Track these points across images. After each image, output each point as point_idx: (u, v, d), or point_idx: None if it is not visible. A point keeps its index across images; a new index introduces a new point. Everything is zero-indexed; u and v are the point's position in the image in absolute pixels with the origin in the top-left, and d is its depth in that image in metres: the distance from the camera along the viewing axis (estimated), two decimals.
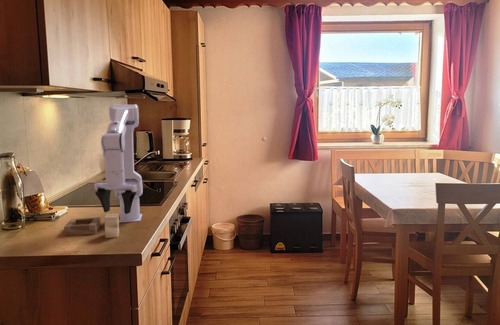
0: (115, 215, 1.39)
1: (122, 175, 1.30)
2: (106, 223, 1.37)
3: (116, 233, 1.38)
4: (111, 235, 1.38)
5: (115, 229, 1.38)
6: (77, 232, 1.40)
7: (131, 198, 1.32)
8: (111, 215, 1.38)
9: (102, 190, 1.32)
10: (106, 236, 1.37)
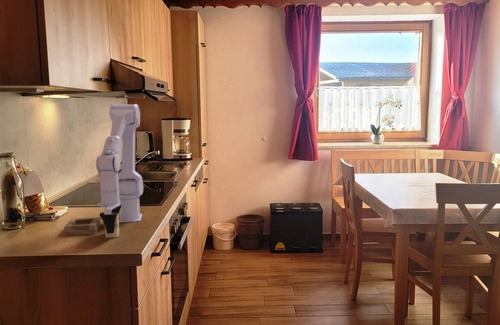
0: None
1: (108, 196, 1.35)
2: None
3: (116, 233, 1.38)
4: (111, 235, 1.38)
5: (115, 229, 1.38)
6: (77, 232, 1.40)
7: (112, 220, 1.34)
8: None
9: None
10: (106, 236, 1.37)
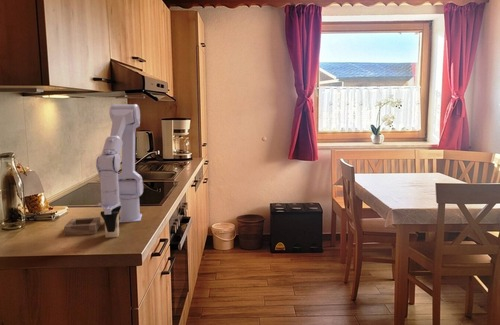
0: None
1: (108, 196, 1.35)
2: None
3: (116, 233, 1.38)
4: (111, 235, 1.38)
5: (115, 229, 1.38)
6: (77, 232, 1.40)
7: (113, 218, 1.36)
8: None
9: None
10: (106, 236, 1.37)
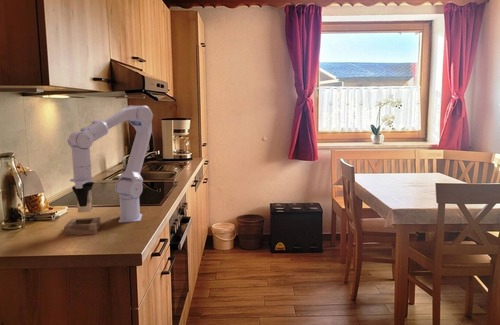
0: None
1: (80, 171, 1.39)
2: None
3: (88, 208, 1.42)
4: (83, 210, 1.42)
5: (88, 204, 1.42)
6: (77, 232, 1.40)
7: (85, 193, 1.40)
8: None
9: None
10: (78, 211, 1.42)
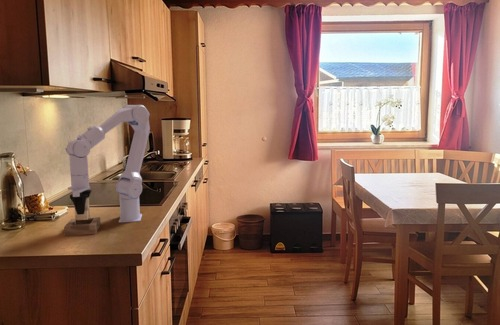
0: None
1: (77, 179, 1.40)
2: None
3: (86, 216, 1.43)
4: (81, 218, 1.43)
5: (85, 212, 1.43)
6: (77, 232, 1.40)
7: (82, 201, 1.41)
8: None
9: None
10: (76, 219, 1.43)
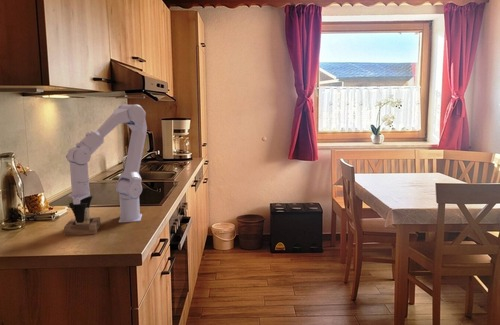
0: (86, 209, 1.44)
1: (78, 186, 1.40)
2: None
3: None
4: None
5: (86, 222, 1.43)
6: (77, 232, 1.40)
7: (82, 210, 1.40)
8: None
9: None
10: None
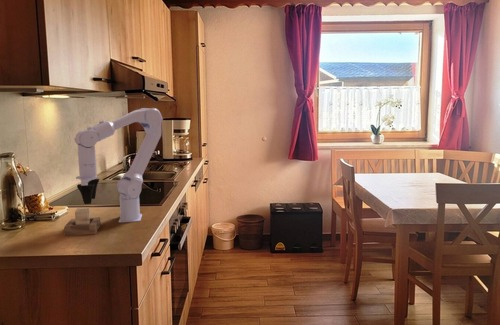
0: (86, 209, 1.44)
1: (85, 169, 1.44)
2: (77, 217, 1.43)
3: None
4: None
5: (86, 222, 1.43)
6: (77, 232, 1.40)
7: (89, 191, 1.43)
8: (82, 209, 1.44)
9: None
10: None
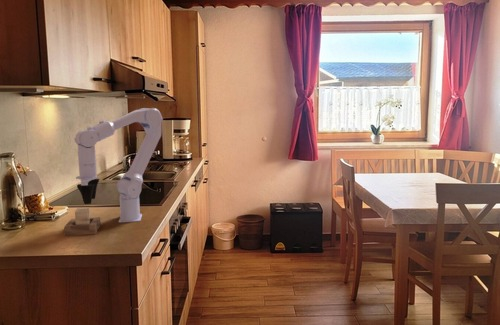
0: (86, 209, 1.44)
1: (85, 169, 1.44)
2: (77, 217, 1.43)
3: None
4: None
5: (86, 222, 1.43)
6: (77, 232, 1.40)
7: (89, 191, 1.43)
8: (82, 209, 1.44)
9: None
10: None
